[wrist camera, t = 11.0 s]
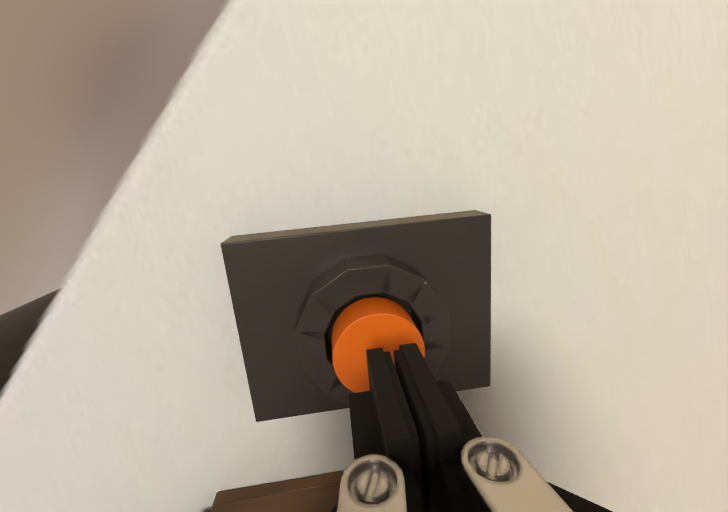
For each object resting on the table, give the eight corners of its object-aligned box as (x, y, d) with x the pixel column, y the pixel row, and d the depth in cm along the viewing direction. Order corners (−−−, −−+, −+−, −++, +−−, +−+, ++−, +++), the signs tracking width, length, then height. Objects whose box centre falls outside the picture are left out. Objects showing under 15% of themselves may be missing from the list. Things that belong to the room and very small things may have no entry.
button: (336, 378, 15) (337, 404, 13) (326, 302, 14) (327, 320, 13) (415, 366, 15) (427, 390, 14) (411, 291, 15) (423, 307, 13)
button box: (261, 400, 18) (248, 451, 15) (230, 236, 16) (205, 253, 13) (476, 368, 19) (508, 409, 16) (475, 209, 17) (512, 219, 14)
